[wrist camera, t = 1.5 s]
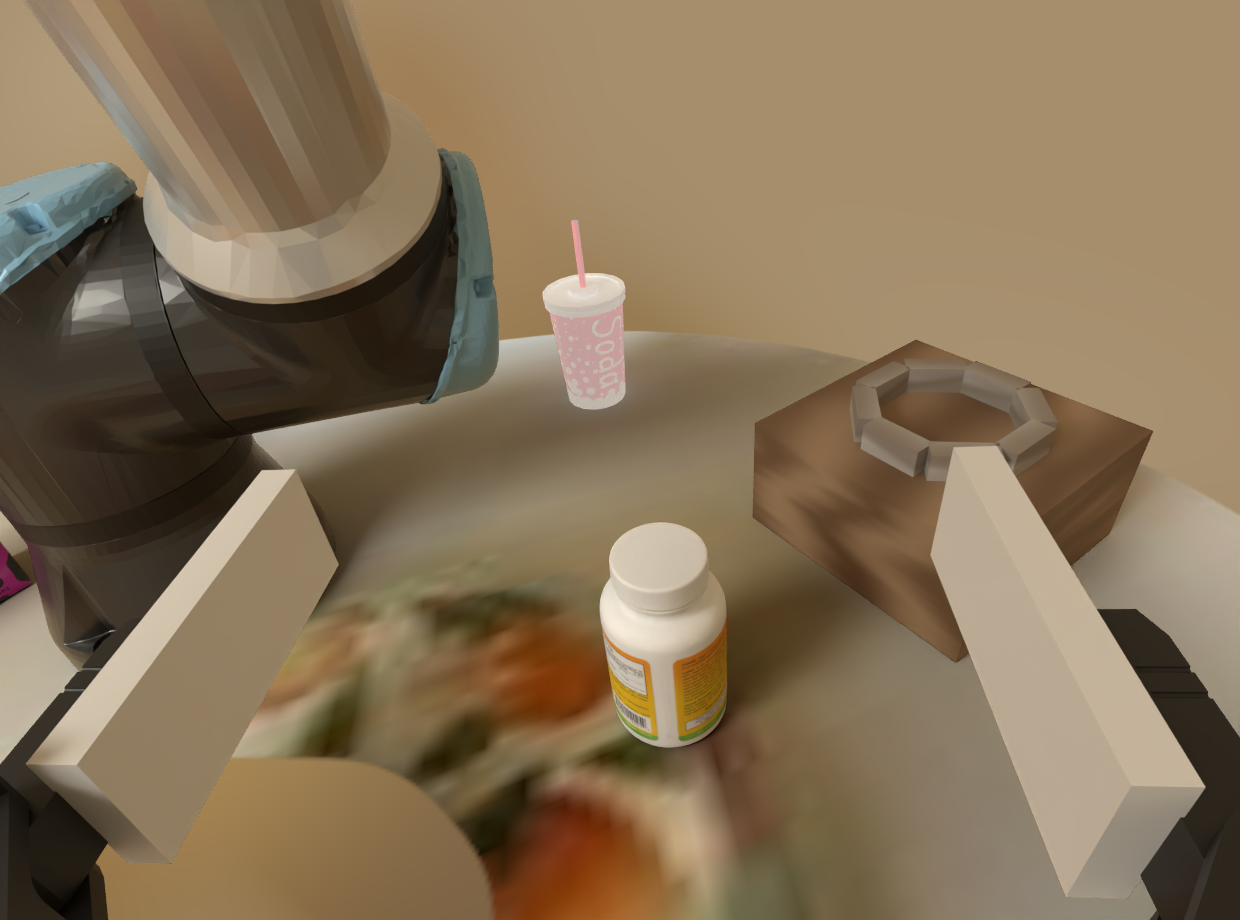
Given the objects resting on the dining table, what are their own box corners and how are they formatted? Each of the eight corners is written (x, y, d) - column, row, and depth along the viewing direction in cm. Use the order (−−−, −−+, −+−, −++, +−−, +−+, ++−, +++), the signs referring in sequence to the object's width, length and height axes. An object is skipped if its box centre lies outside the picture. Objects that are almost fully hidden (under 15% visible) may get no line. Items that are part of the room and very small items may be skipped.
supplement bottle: (725, 654, 36) (724, 508, 30) (729, 753, 32) (728, 605, 26) (619, 653, 37) (599, 510, 31) (609, 749, 32) (583, 604, 27)
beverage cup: (570, 422, 55) (541, 243, 46) (551, 385, 59) (522, 217, 51) (645, 403, 56) (630, 225, 47) (621, 368, 61) (603, 201, 52)
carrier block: (752, 517, 44) (755, 400, 39) (900, 429, 50) (919, 318, 45) (955, 662, 34) (994, 532, 29) (1109, 533, 40) (1163, 406, 35)
